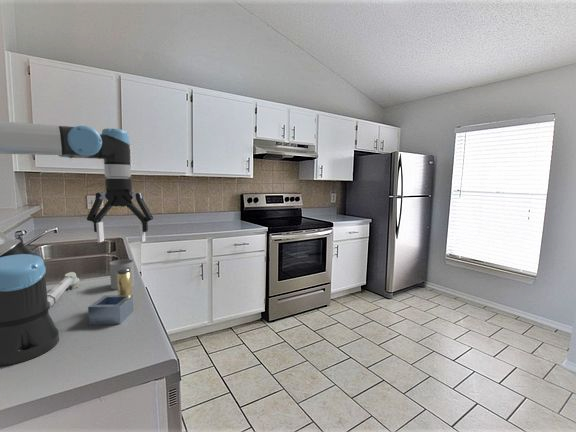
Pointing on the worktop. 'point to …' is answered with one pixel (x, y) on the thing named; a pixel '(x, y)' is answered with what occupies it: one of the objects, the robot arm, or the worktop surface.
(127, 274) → the olive tall cylinder
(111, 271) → the cup
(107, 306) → the open blue-gray rectangular box
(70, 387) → the worktop surface
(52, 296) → the white knobby-ended rod
